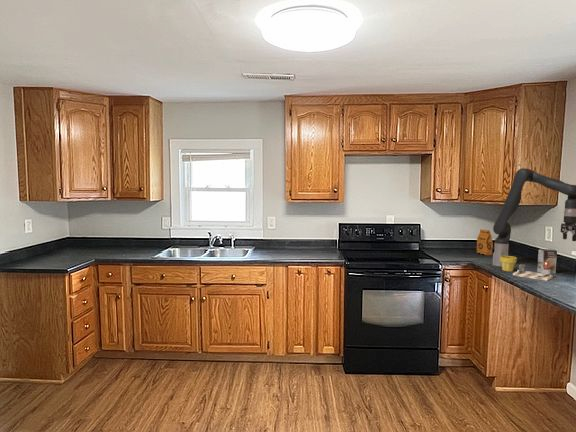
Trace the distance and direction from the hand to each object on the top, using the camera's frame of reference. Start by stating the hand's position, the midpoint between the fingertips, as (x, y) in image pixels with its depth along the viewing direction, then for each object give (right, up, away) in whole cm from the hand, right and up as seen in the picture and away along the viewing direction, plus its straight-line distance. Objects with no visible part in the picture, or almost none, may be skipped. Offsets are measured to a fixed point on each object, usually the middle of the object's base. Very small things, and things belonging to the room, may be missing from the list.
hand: (569, 240), depth 254 cm
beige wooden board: (-21, -25, +4) cm, 33 cm away
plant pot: (-27, -23, +23) cm, 43 cm away
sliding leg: (-17, -23, -1) cm, 28 cm away
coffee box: (-4, -24, +17) cm, 30 cm away
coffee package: (-10, -18, +90) cm, 92 cm away
